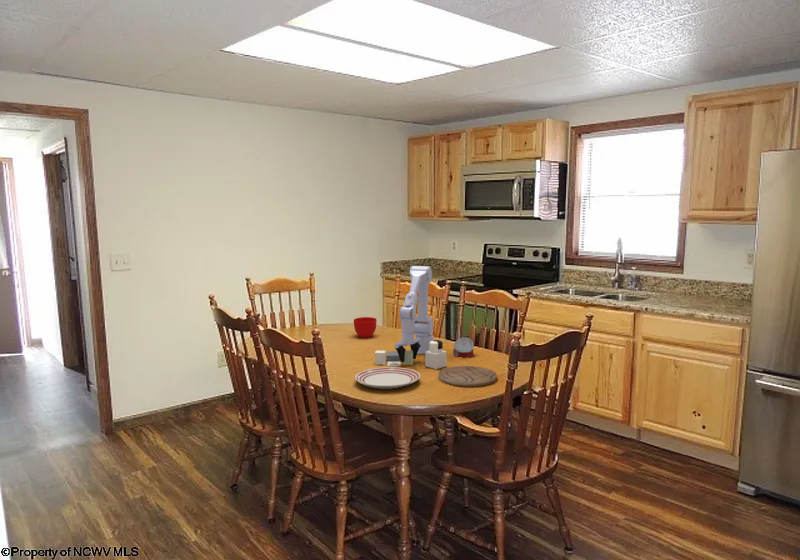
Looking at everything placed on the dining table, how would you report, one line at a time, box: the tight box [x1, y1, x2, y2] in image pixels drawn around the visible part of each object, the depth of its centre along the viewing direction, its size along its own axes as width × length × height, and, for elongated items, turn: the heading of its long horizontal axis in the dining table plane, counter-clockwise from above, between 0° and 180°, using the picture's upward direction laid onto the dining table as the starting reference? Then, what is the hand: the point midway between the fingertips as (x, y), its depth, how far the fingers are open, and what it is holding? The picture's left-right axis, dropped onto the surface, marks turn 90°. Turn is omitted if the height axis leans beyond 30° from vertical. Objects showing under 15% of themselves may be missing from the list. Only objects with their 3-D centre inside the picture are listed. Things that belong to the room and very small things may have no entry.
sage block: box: [402, 349, 414, 366], centre depth 260 cm, size 5×5×6 cm
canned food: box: [452, 336, 475, 359], centre depth 273 cm, size 11×10×10 cm
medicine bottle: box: [424, 339, 448, 370], centre depth 254 cm, size 7×7×12 cm
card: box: [387, 361, 402, 367], centre depth 259 cm, size 6×6×1 cm
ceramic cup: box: [353, 316, 377, 339], centre depth 315 cm, size 13×17×10 cm
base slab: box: [386, 350, 401, 362], centre depth 268 cm, size 8×8×3 cm
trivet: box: [437, 365, 498, 388], centre depth 237 cm, size 25×25×2 cm
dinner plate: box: [354, 366, 421, 390], centre depth 232 cm, size 27×27×3 cm
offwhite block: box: [374, 350, 387, 366], centre depth 260 cm, size 5×5×6 cm
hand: (408, 360), depth 260 cm, fingers closed on sage block, 6 cm apart
